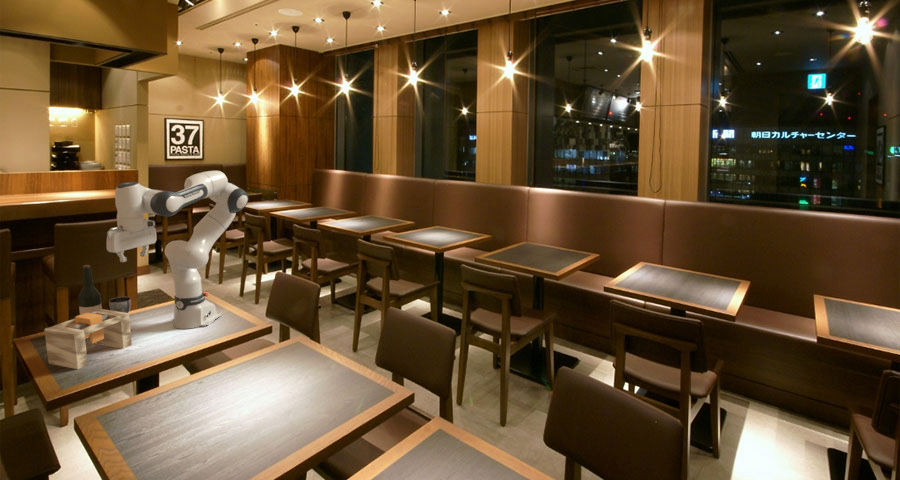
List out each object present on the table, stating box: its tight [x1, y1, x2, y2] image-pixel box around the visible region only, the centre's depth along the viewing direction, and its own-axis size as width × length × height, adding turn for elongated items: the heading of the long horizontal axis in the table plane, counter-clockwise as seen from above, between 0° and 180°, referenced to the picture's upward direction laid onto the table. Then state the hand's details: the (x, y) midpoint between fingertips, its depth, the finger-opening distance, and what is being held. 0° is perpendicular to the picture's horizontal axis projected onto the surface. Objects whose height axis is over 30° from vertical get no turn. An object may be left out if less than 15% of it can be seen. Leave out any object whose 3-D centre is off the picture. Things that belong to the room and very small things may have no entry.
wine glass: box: [108, 296, 133, 332], centre depth 224 cm, size 8×8×15 cm
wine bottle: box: [77, 264, 103, 315], centre depth 222 cm, size 8×8×30 cm
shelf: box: [44, 308, 133, 370], centre depth 202 cm, size 24×14×14 cm, turn 166°
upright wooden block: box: [74, 313, 104, 344], centre depth 201 cm, size 5×8×10 cm, turn 76°
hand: (133, 258), depth 199 cm, fingers open, 8 cm apart
